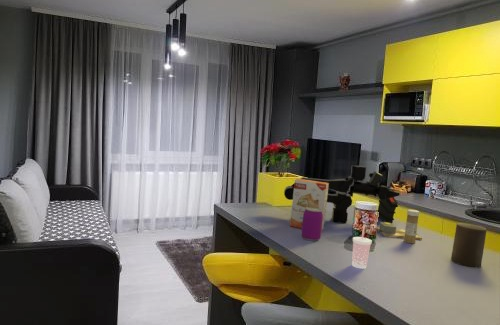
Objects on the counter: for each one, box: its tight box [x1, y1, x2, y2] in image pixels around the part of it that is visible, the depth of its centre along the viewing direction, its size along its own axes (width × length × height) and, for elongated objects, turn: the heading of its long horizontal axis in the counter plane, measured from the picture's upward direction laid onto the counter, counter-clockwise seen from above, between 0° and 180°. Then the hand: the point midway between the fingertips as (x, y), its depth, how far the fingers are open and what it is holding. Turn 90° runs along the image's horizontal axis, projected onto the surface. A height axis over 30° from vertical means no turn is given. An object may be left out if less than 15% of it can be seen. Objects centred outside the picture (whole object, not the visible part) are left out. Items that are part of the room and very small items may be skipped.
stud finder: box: [379, 221, 397, 234], centre depth 177 cm, size 5×7×3 cm
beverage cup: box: [351, 224, 373, 269], centre depth 130 cm, size 6×6×14 cm
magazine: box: [377, 197, 399, 224], centre depth 202 cm, size 4×13×15 cm, turn 11°
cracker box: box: [289, 178, 329, 231], centre depth 173 cm, size 14×6×21 cm, turn 68°
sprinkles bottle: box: [403, 209, 420, 244], centre depth 165 cm, size 5×5×14 cm
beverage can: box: [301, 207, 323, 242], centre depth 158 cm, size 8×8×12 cm
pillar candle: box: [450, 222, 488, 268], centre depth 144 cm, size 10×10×15 cm
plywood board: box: [376, 226, 423, 241], centre depth 177 cm, size 16×12×1 cm
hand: (396, 192), depth 188 cm, fingers open, 9 cm apart
